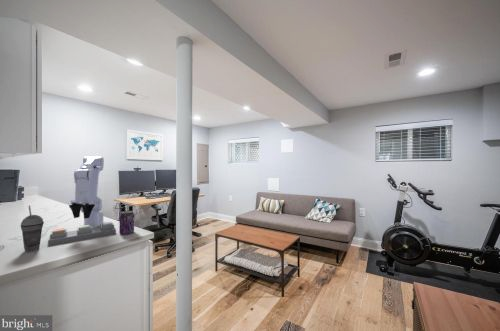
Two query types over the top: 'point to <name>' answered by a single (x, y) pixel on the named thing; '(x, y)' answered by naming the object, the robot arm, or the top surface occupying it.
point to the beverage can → (126, 222)
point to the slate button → (106, 223)
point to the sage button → (84, 227)
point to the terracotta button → (58, 230)
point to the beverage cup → (31, 231)
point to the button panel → (80, 234)
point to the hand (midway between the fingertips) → (81, 217)
